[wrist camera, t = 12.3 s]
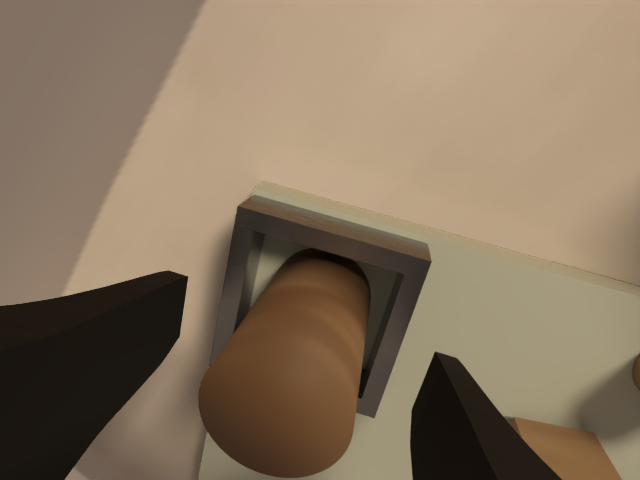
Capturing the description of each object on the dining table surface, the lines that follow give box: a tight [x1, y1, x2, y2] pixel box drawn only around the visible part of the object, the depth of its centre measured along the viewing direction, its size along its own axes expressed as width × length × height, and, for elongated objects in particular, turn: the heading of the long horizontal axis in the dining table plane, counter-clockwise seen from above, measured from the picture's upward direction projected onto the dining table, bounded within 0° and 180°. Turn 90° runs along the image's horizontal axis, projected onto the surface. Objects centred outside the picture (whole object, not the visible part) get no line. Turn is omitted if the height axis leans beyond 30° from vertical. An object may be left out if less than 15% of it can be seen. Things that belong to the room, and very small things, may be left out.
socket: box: [209, 195, 432, 418], centre depth 14 cm, size 6×6×2 cm
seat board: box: [198, 181, 640, 480], centre depth 15 cm, size 16×16×4 cm
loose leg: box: [199, 248, 371, 478], centre depth 12 cm, size 3×3×6 cm
